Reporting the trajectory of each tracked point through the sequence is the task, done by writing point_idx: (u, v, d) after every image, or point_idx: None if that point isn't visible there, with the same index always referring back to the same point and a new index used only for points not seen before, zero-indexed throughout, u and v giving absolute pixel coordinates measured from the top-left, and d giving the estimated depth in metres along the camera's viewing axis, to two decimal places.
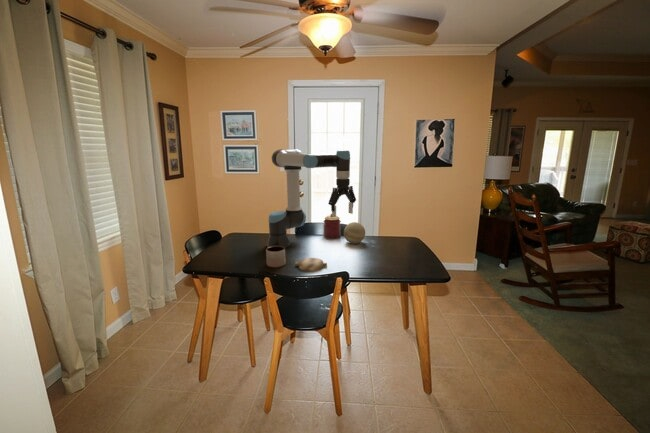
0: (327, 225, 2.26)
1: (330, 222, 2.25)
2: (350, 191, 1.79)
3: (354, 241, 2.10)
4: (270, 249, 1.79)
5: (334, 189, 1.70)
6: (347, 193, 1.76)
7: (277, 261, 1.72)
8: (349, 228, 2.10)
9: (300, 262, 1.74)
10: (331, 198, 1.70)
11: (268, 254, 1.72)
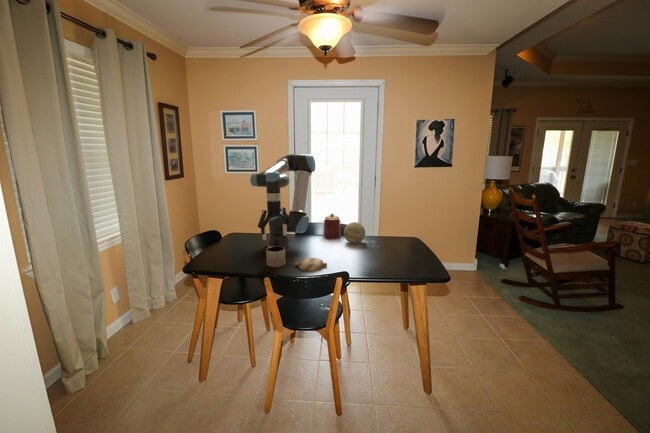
0: (327, 225, 2.26)
1: (330, 222, 2.25)
2: (283, 213, 1.75)
3: (354, 241, 2.10)
4: (270, 249, 1.79)
5: (263, 212, 1.66)
6: (279, 215, 1.72)
7: (277, 261, 1.72)
8: (349, 228, 2.10)
9: (300, 262, 1.74)
10: (260, 221, 1.66)
11: (268, 254, 1.72)
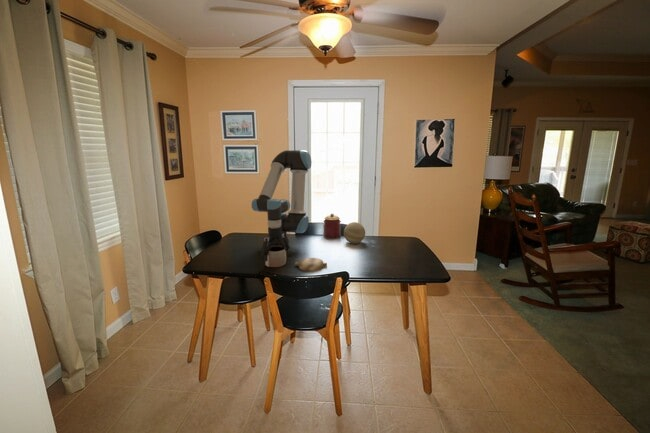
0: (327, 225, 2.26)
1: (330, 222, 2.25)
2: (284, 239, 1.78)
3: (354, 241, 2.10)
4: (270, 249, 1.79)
5: (264, 239, 1.70)
6: (279, 241, 1.75)
7: (277, 261, 1.72)
8: (349, 228, 2.10)
9: (300, 262, 1.74)
10: (262, 248, 1.70)
11: (268, 254, 1.72)
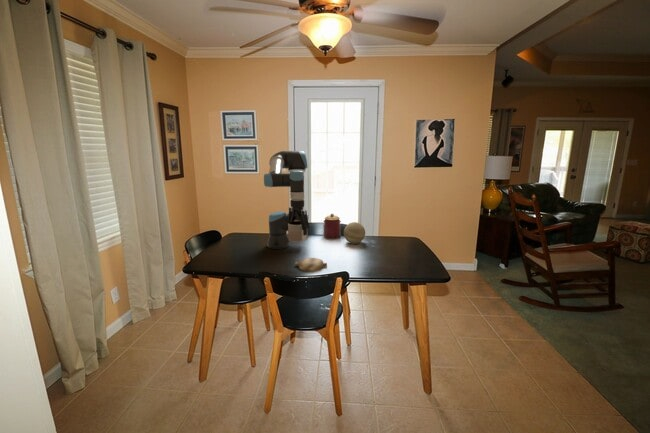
0: (327, 225, 2.26)
1: (330, 222, 2.25)
2: None
3: (354, 241, 2.10)
4: None
5: None
6: None
7: (288, 233, 1.69)
8: (349, 228, 2.10)
9: (300, 262, 1.74)
10: None
11: None
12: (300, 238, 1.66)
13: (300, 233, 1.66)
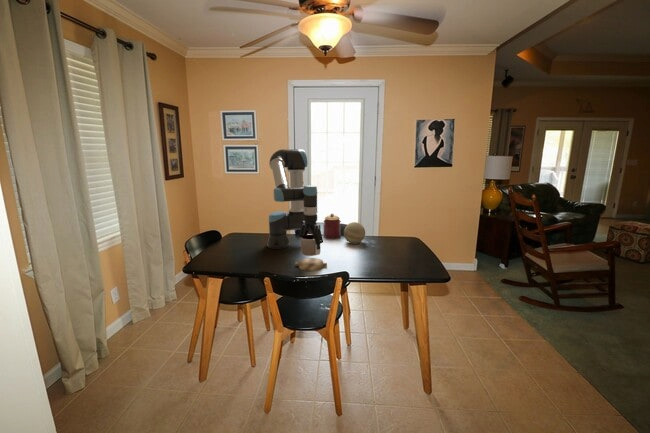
0: (327, 225, 2.26)
1: (330, 222, 2.25)
2: None
3: (354, 241, 2.10)
4: None
5: None
6: (311, 230, 1.67)
7: (301, 247, 1.70)
8: (349, 228, 2.10)
9: (300, 262, 1.74)
10: None
11: None
12: (314, 252, 1.67)
13: (314, 247, 1.67)
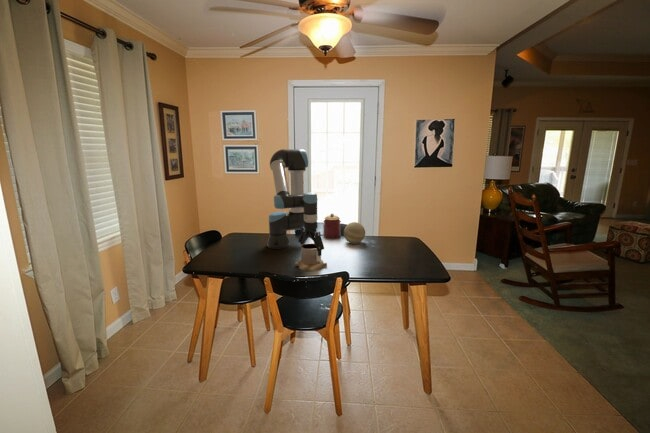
0: (327, 225, 2.26)
1: (330, 222, 2.25)
2: None
3: (354, 241, 2.10)
4: (315, 246, 1.76)
5: None
6: None
7: (301, 256, 1.72)
8: (349, 228, 2.10)
9: (300, 262, 1.74)
10: None
11: None
12: (314, 262, 1.69)
13: (314, 257, 1.68)
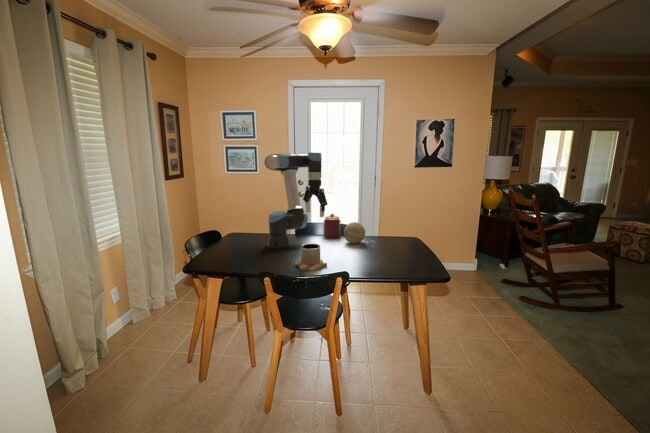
0: (327, 225, 2.26)
1: (330, 222, 2.25)
2: None
3: (354, 241, 2.10)
4: (315, 246, 1.76)
5: None
6: None
7: (301, 257, 1.72)
8: (349, 228, 2.10)
9: (300, 262, 1.74)
10: None
11: None
12: (314, 262, 1.69)
13: (314, 257, 1.68)
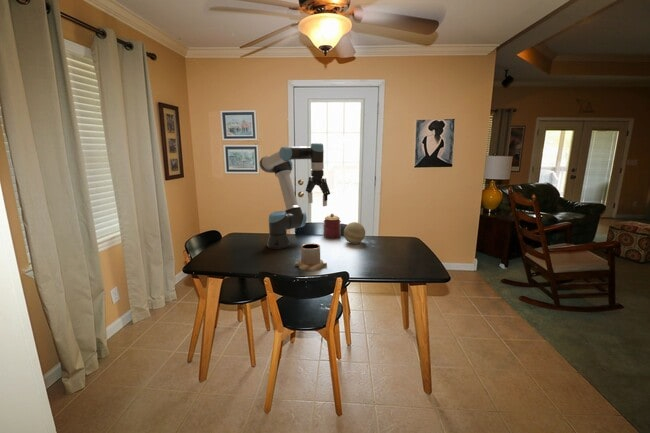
0: (327, 225, 2.26)
1: (330, 222, 2.25)
2: None
3: (354, 241, 2.10)
4: (315, 246, 1.76)
5: None
6: (318, 184, 1.83)
7: (301, 257, 1.72)
8: (349, 228, 2.10)
9: (300, 262, 1.74)
10: None
11: None
12: (314, 262, 1.69)
13: (314, 257, 1.68)
